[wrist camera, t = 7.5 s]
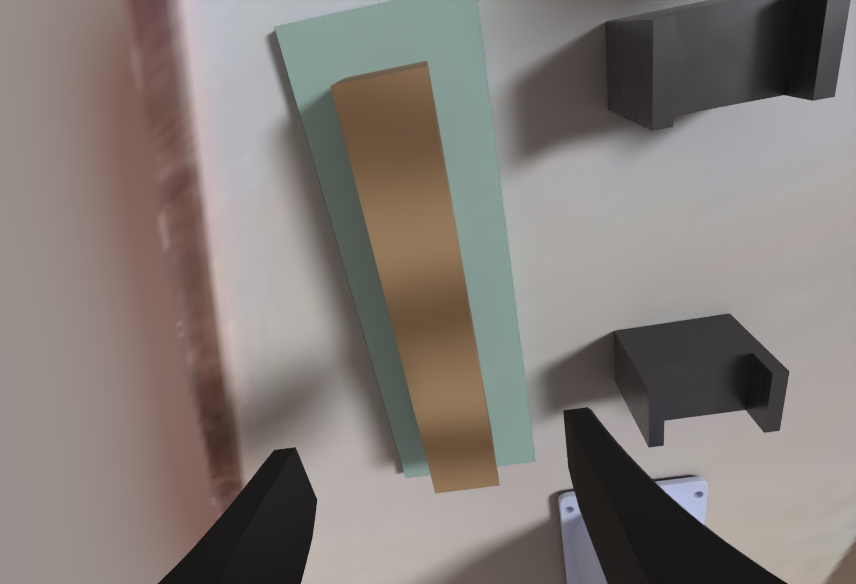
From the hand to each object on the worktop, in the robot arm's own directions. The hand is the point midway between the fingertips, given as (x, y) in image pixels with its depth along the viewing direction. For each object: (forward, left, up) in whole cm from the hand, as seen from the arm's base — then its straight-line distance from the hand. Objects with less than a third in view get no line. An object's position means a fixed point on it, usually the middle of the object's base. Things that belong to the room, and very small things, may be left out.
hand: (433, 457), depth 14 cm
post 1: (+8, -10, -10) cm, 17 cm away
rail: (0, 0, -10) cm, 10 cm away
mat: (0, 0, -10) cm, 10 cm away
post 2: (-5, -10, -10) cm, 16 cm away
